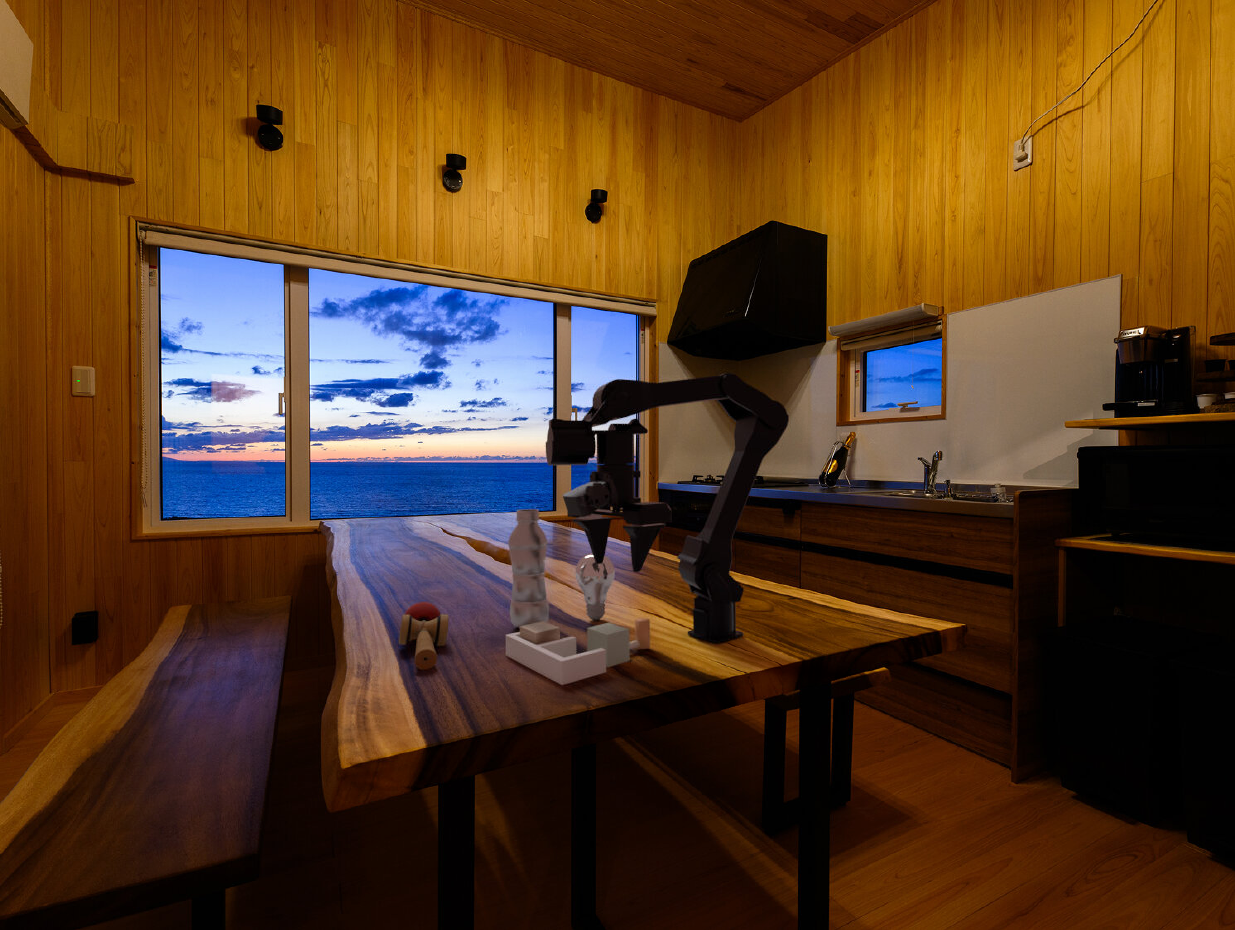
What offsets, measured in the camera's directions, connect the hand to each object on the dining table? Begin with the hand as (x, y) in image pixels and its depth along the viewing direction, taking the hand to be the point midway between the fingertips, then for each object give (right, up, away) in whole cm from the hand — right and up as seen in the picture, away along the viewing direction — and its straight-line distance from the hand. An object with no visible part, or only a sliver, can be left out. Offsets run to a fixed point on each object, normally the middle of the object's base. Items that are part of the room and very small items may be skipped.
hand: (617, 567), depth 90 cm
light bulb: (-4, -12, +15) cm, 20 cm away
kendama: (-29, -13, 0) cm, 32 cm away
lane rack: (-9, -12, -7) cm, 17 cm away
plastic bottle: (-15, -12, +11) cm, 22 cm away
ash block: (-11, -12, -4) cm, 17 cm away
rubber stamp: (+1, -12, -4) cm, 13 cm away
